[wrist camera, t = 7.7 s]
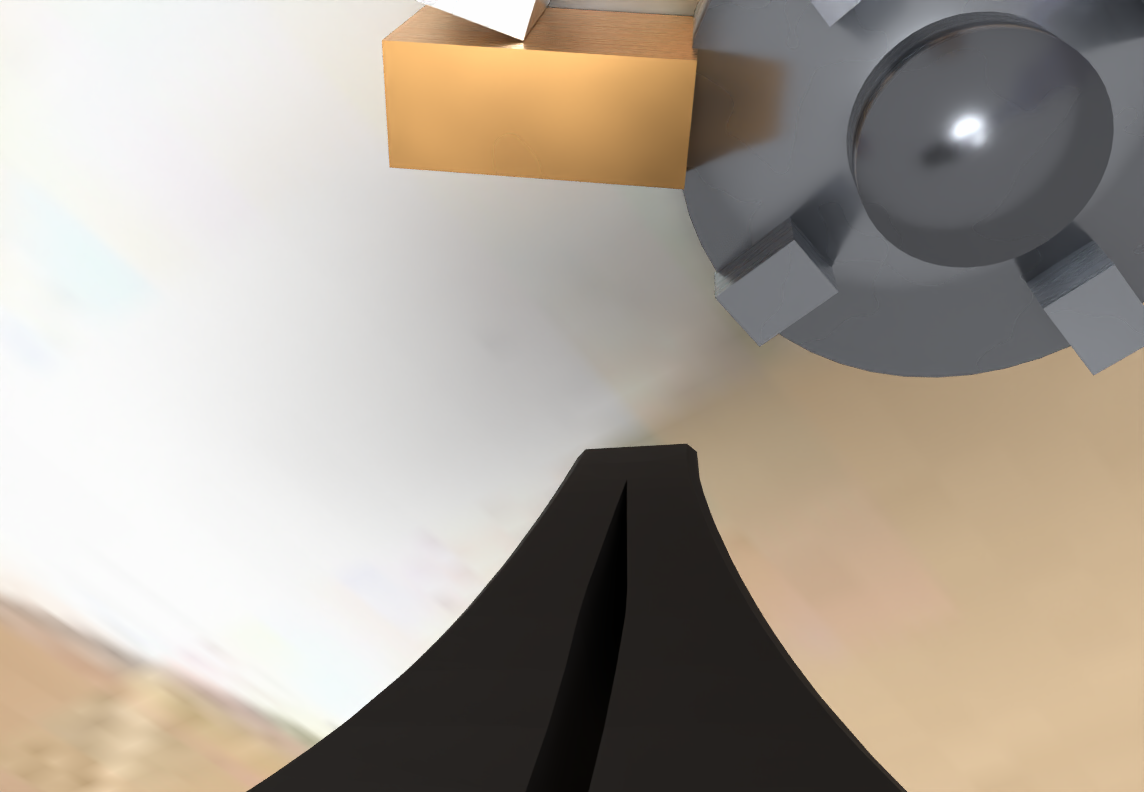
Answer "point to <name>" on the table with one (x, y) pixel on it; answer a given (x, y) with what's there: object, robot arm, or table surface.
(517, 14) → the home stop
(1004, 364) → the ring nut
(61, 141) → the table surface
